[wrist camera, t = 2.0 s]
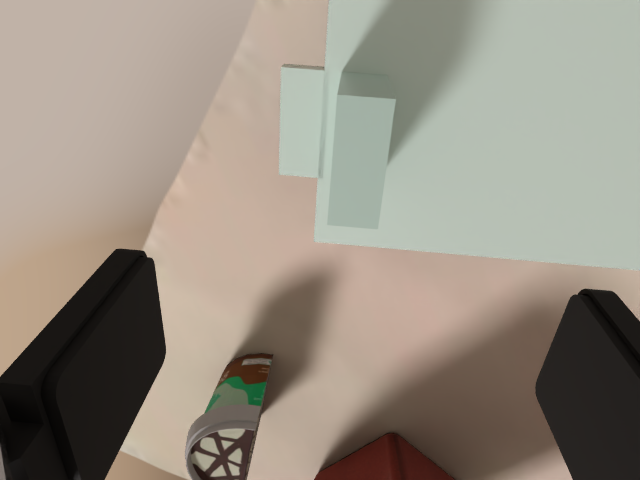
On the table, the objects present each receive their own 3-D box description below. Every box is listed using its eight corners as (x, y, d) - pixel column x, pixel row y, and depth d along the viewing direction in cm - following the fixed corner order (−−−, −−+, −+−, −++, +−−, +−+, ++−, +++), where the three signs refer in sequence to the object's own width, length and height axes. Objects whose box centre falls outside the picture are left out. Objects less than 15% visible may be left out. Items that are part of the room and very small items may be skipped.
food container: (215, 332, 47) (183, 411, 38) (275, 344, 47) (256, 425, 38) (206, 413, 53) (176, 498, 44) (259, 424, 53) (239, 510, 44)
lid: (737, 5, 23) (908, 11, 16) (627, 253, 30) (711, 335, 23) (288, -26, 24) (259, -33, 17) (282, 223, 31) (260, 293, 24)
